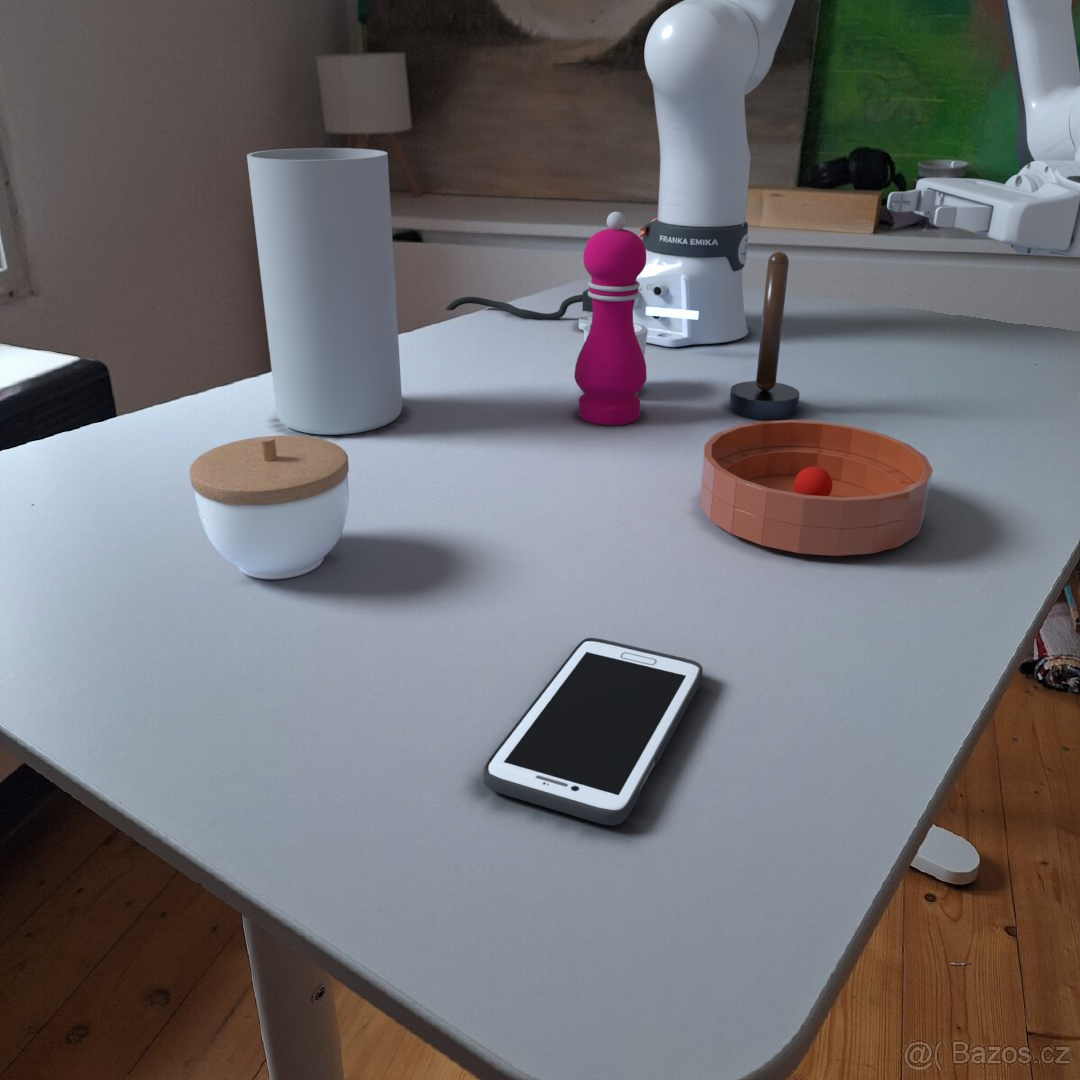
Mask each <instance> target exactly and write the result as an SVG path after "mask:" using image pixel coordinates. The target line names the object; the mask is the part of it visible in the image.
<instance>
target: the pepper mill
mask: <svg viewBox="0 0 1080 1080" xmlns="http://www.w3.org/2000/svg"><path fill="white" fill-rule="evenodd" d="M625 225H626V217H625V215H624V214H623V213H622V212H620V211H613V212H610V213H609V214H608V216H607V218H606V226H607V227H608V228H606V229H602V230H599V231H597V232H595V233H594V234H592V235H591V237H590V238H589V239H588V240H587V242H586V244H585V247H584V250H583V257H582V258H583V266H584V268H585V270H586V272H587V273H588V274H589V276H590V277H591V279H590V280H589V281H588V282H587V286H588V288H589V291H588V296H589V297H591V298H592V307H593V314H592V324H591V328H590V331H589V334H588V336H587V339H586V341H585V343H583V345H582V347H581V349H580V351H579V353H578V356H577V359H576V361H575V368H574V380H575V383H576V385H577V387H578V388H579V389H580V390H581V391H582V393H583V394H582V395H580V396H579V398H578V416H579V418H580V419H582V420H583V421H585V422H588V423H591V424H594V425H601V426H621V425H622V426H623V425H627V424H631V423H633V422H636V421H637V420H638V419H639V418H640V416H641V399H640V397H638V396H637V395H638V394H637V392H638V391H639V392H640V391H641V389H642V388H643V387H644V385H645V384H646V382H647V375H648V374H647V364H646V359H645V355H644V356H643V353H642V350H641V348H640V345H639V343H638V340H637V337H636V335H635V330H634V325H633V307H634V301H635V299H636V298H638V297H639V292H638V288H639V287H640V283H639V282H638V281H636V279H637V277H638V275H639V274H640V273H641V272H642V271H643V269H644V267H645V265H646V249H645V246H644V244H643V239H641V237H639V235H637V234H636V233H635V232H633V231H631V230H628V229H626V228H625V229H624V227H626V226H625ZM639 392H638V393H639ZM636 394H637V395H636Z"/></svg>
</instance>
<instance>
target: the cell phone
mask: <svg viewBox="0 0 1080 1080" xmlns="http://www.w3.org/2000/svg"><path fill="white" fill-rule="evenodd" d="M702 678H703V665H701V663H700V662H698V661H695V660H693V659H689V658H685V657H681V656H677V655H672V654H668V653H664V652H660V651H655V650H651V649H646V648H642V647H638V646H634V645H631V644H630V645H629V644H625V643H621V642H616V641H612V640H607V639H603V638H602V639H601V638H597V637H586V638H584V639H582V641H580V642H579V643H578V644H577V645H576V646H575V648H574V649H573V650H572V652H570V654H569V655H568V657H567V658H566V659H565V661H564V662H563V663H562V665H561V666H560V667H559V668H558V670H557V671H556V672H555V673H554V675H553V676H552V677H551V679H550V680H549V681H548V682H547V683H546V685H545V686H544V688H542V690H541V691H540V692H539V694H538V695H537V696H536V697H535V699H534V700H533V702H531V704H530V706H529V707H528V708H527V709H526V711H525V712H524V713H523V714H522V715H521V717H520V718H519V719H518V721H517V722H516V723H515V724H514V726H513V727H512V729H510V731H509V732H508V733H507V735H506V736H505V737H504V739H503V740H502V741H501V742H500V744H499V745H498V746H497V747H496V748H495V750H494V751H493V753H492V754H491V755H490V757H489V758H488V759H487V761H486V763H485V764H484V767H483V769H482V782H483V785H484V786H485V787H486V788H487V789H489V790H491V791H492V792H496V793H498V794H500V795H504V796H507V797H510V798H514V799H517V800H521V801H523V802H527V803H530V804H533V805H537V806H540V807H543V808H547V809H550V810H553V811H556V812H560V813H563V814H567V815H570V816H573V817H576V818H579V819H583V820H586V821H589V822H593V823H597V824H601V825H605V826H616V825H617V826H619V825H621V824H622V823H623V822H625V821H626V819H627V818H628V817H629V816H630V815H631V813H632V811H633V810H634V807H635V806H636V804H637V803H638V801H639V799H640V796H641V795H640V793H641V790H642V788H643V787H644V784H645V783H646V781H647V779H648V777H649V775H650V774H651V772H652V770H653V768H655V767H657V765H658V763H659V761H660V759H661V758H662V755H663V753H664V752H665V750H666V748H667V746H668V744H669V742H670V741H671V738H672V737H673V736H674V733H675V731H676V730H677V728H678V726H679V723H680V722H681V721H682V718H683V717H684V715H685V713H686V711H687V710H688V707H689V705H690V704H691V702H692V701H693V698H694V696H695V694H696V693H697V691H698V689H699V687H700V685H701V683H702Z"/></svg>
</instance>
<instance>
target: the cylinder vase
mask: <svg viewBox="0 0 1080 1080" xmlns="http://www.w3.org/2000/svg"><path fill="white" fill-rule="evenodd" d="M246 161H247V168H248V169H247V170H248V177H249V187H250V196H251V203H252V212H253V213H252V214H253V222H254V228H255V230H254V231H255V237H256V246H257V257H258V264H259V272H260V281H261V289H262V298H263V299H262V301H263V308H264V317H265V325H266V333H267V334H266V335H267V342H268V351H269V359H270V369H271V376H272V377H271V378H272V386H273V395H274V402H275V412H276V416H277V418H278V420H279V421H280V422H281V423H282V424H283V425H284V426H286V427H287V428H289V429H291V430H295V431H297V432H301V433H306V434H311V435H312V434H313V435H326V436H331V435H333V436H335V435H338V436H339V435H351V434H358V433H363V432H368V431H372V430H375V429H379V428H382V427H384V426H387V425H388V424H390V423H392V422H394V421H395V420H396V419H397V418H398V417H399V416H400V414H401V412H402V409H403V395H402V394H403V393H402V379H401V378H402V376H401V362H400V361H401V360H400V346H399V345H400V344H399V327H398V309H397V308H398V307H397V293H396V275H395V260H394V242H393V226H392V225H393V224H392V207H391V205H392V204H391V191H390V175H389V171H390V170H389V157H388V152H387V151H384V150H378V149H369V148H350V147H348V148H347V147H308V148H306V147H305V148H284V149H283V148H282V149H272V150H262V151H255V152H254V151H253V152H250V153H247V154H246Z"/></svg>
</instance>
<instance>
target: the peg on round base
mask: <svg viewBox="0 0 1080 1080" xmlns="http://www.w3.org/2000/svg"><path fill="white" fill-rule="evenodd" d="M789 267H790V260H789V257H788V255H787V254H786V253H785V252H782V251H775V252H773V253H772V254H771V255H770V256H769V257H768V260H767V267H766V278H765V289H764V298H763V309H762V317H761V328H760V337H759V349H758V359H757V366H756V378H755V380H749V381H742V382H738V383H736V384H734V385H732V386H731V387H730V392H729V401H728V402H729V404H728V408H729V410H730V411H731V412H732V413H734V414H736V415H738V416H741V417H744V418H748V419H754V420H761V421H762V420H763V421H780V420H787V419H789V418H793V417H795V416H796V415H797V414H798V410H799V401H800V393H801V392H800V391H799V390H798V389H797V388H796V387H793V386H791V385H788V384H786V383H781V382H777V376H778V366H779V358H780V357H779V356H780V347H781V339H782V329H783V320H784V311H785V303H786V292H787V284H788V274H789Z"/></svg>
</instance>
